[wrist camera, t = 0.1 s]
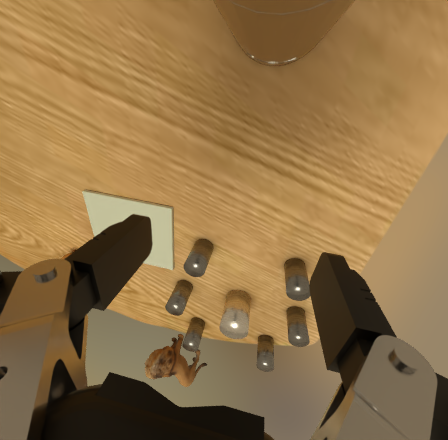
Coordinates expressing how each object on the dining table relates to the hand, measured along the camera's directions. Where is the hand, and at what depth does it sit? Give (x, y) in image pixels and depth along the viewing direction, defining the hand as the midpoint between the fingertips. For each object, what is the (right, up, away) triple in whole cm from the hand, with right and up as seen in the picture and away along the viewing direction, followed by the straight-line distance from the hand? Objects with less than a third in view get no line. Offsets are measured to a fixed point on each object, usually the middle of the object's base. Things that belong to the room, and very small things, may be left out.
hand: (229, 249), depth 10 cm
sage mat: (-15, 0, +24) cm, 28 cm away
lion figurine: (-10, -28, +39) cm, 49 cm away
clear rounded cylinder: (+2, -13, +27) cm, 30 cm away
